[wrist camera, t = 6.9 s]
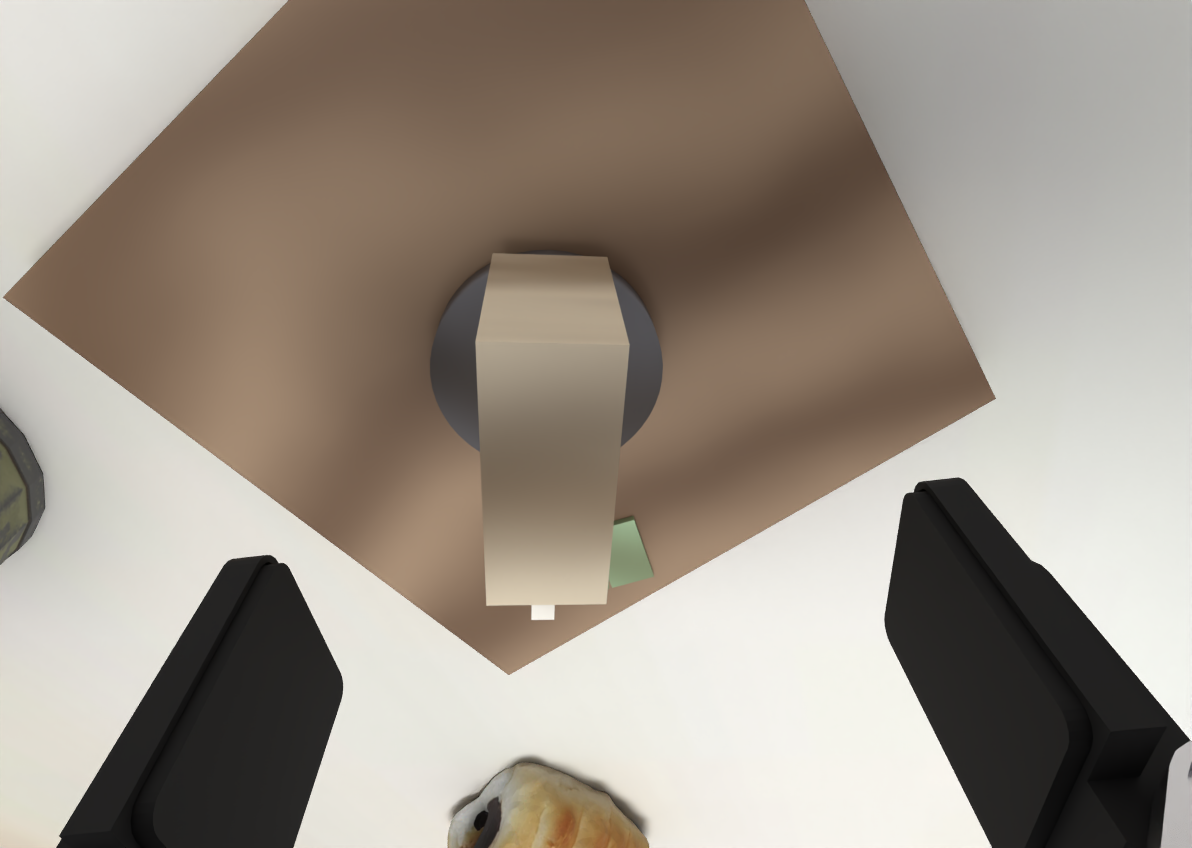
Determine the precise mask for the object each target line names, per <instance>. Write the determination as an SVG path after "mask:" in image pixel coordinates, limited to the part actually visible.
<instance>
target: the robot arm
mask: <svg viewBox="0 0 1192 848" xmlns="http://www.w3.org/2000/svg"><path fill="white" fill-rule="evenodd" d="M884 621H885V629H886V633H887V636H888V639H889V642H890V644H891V646H892V648H893V650H894V652H895V654H896V656H897V658H898V660H899V662H900V664H901V666H902V668H903V670H904V672H905V674H906V676H907V678H908V680H909V682H910V684H911V686H912V688H913V690H914V692H915V694H916V696H917V698H918V700H919V702H920V704H921V706H922V708H923V710H924V712H925V714H926V716H927V718H928V720H929V722H930V724H931V726H932V728H933V730H934V732H935V734H936V736H937V738H938V740H939V742H940V744H941V746H942V748H943V750H944V752H945V754H946V756H947V758H948V760H949V762H950V764H951V766H952V768H953V770H954V772H955V774H956V776H957V778H958V780H959V782H960V784H961V786H962V788H963V790H964V792H965V794H966V796H967V798H968V800H969V802H970V804H971V806H972V808H973V810H974V812H975V814H976V816H977V818H978V820H979V822H980V824H981V826H982V828H983V830H984V832H985V834H986V836H987V838H988V840H989V842H990V844H991V846H992V848H1192V741H1191V740H1190V739H1189V738H1188V737H1187V736H1186V735H1185V733H1184V732H1183V731H1182V730H1181V729H1180V727H1179V726H1178V725H1177V724H1176V723H1175V721H1174V720H1173V719H1172V718H1171V717H1170V715H1169V714H1168V713H1167V712H1166V711H1165V709H1164V708H1163V707H1162V706H1161V705H1160V703H1159V702H1158V701H1157V700H1156V699H1155V698H1154V696H1153V695H1152V694H1151V693H1150V692H1149V690H1148V689H1147V688H1146V687H1145V686H1144V684H1143V683H1142V682H1141V681H1140V680H1139V678H1138V677H1137V676H1136V675H1135V674H1134V672H1133V671H1132V670H1131V669H1130V668H1129V667H1128V665H1127V664H1126V663H1125V662H1124V661H1123V659H1122V658H1121V657H1120V656H1119V655H1118V653H1117V652H1116V651H1115V650H1114V649H1113V647H1112V646H1111V645H1110V644H1109V643H1108V641H1107V640H1106V639H1105V638H1104V637H1103V635H1102V634H1101V633H1100V632H1099V631H1098V630H1097V628H1096V627H1095V626H1094V625H1093V624H1092V622H1091V621H1090V620H1089V619H1088V618H1087V616H1086V615H1085V614H1084V613H1083V612H1082V610H1081V609H1080V608H1079V607H1078V606H1077V604H1076V603H1075V602H1074V601H1073V600H1072V599H1071V597H1070V596H1069V595H1068V594H1067V593H1066V591H1065V590H1064V589H1063V588H1062V587H1061V585H1060V584H1059V583H1058V582H1057V581H1056V579H1055V578H1054V577H1053V576H1052V575H1051V574H1050V573H1049V572H1048V571H1047V570H1046V569H1045V568H1044V567H1043V566H1042V565H1040V564H1038V563H1036V562H1034V561H1031V560H1030V558H1029V557H1028V556H1027V555H1026V554H1025V552H1024V551H1023V550H1022V549H1021V547H1020V546H1019V545H1018V544H1017V543H1016V541H1015V540H1014V539H1013V538H1012V537H1011V535H1010V534H1009V533H1008V532H1007V530H1006V529H1005V528H1004V527H1003V526H1002V524H1001V523H1000V522H999V521H998V520H997V518H996V517H995V516H994V515H993V513H992V512H991V511H990V510H989V509H988V507H987V506H986V505H985V504H984V503H983V501H982V500H981V499H980V498H979V496H978V495H977V494H976V493H975V492H974V490H973V489H972V488H971V487H970V486H969V484H968V483H967V482H966V481H965V480H963V479H961V478H950V479H941V480H932V481H923V482H919V483H918V484H917V485H916V487H915V490H914V492H913V493H907V494H906V495H905V496H904V499H903V504H902V510H901V517H900V523H899V529H898V535H897V542H896V548H895V554H894V560H893V567H892V573H891V579H890V585H889V592H888V598H887V604H886V611H885V619H884ZM342 694H343V680H342V676H341V673H340V671H339V669H338V667H337V665H336V663H335V661H334V659H333V657H332V655H331V652H330V650H329V648H328V646H327V644H326V642H325V640H324V638H323V636H322V634H321V632H320V630H319V628H318V626H317V624H316V622H315V620H314V618H313V616H312V614H311V612H310V610H309V608H308V606H307V603H306V601H305V599H304V597H303V595H302V593H301V591H300V589H299V587H298V585H297V583H296V581H295V579H294V577H293V575H292V573H291V571H290V569H289V567H288V566H287V565H286V564H284V563H278V561H277V560H276V559H275V558H274V557H273V556H271V555H263V556H254V557H246V558H237V559H231V560H229V561H228V562H227V563H226V564H225V565H224V566H223V568H222V569H221V571H220V573H219V574H218V576H217V578H216V579H215V581H214V583H213V584H212V586H211V587H210V589H209V591H208V592H207V594H206V596H205V597H204V599H203V601H202V602H201V604H200V606H199V607H198V609H197V610H196V612H195V614H194V615H193V617H192V619H191V620H190V622H189V624H188V625H187V627H186V629H185V630H184V632H183V633H182V635H181V637H180V638H179V640H178V642H177V643H176V645H175V647H174V648H173V650H172V651H171V653H170V655H169V656H168V658H167V660H166V661H165V663H164V665H163V666H162V668H161V670H160V671H159V673H158V674H157V676H156V678H155V679H154V681H153V683H152V684H151V686H150V688H149V689H148V691H147V693H146V694H145V696H144V697H143V699H142V701H141V702H140V704H139V706H138V707H137V709H136V711H135V712H134V714H133V716H132V717H131V719H130V720H129V722H128V724H127V725H126V727H125V729H124V730H123V732H122V734H121V735H120V737H119V738H118V740H117V742H116V743H115V745H114V747H113V748H112V750H111V752H110V753H109V755H108V757H107V758H106V760H105V761H104V763H103V765H102V766H101V768H100V770H99V771H98V773H97V775H96V776H95V778H94V780H93V781H92V783H91V784H90V786H89V788H88V789H87V791H86V793H85V794H84V796H83V798H82V799H81V801H80V803H79V804H78V806H77V807H76V809H75V811H74V812H73V814H72V816H71V817H70V819H69V821H68V822H67V824H66V825H65V827H64V829H63V830H62V832H61V834H60V835H59V836H60V837H61V838H62V839H61V841H60V842H59V844H58V846H57V847H56V848H293V847H294V844H295V841H296V838H297V835H298V832H299V828H300V825H301V822H302V819H303V816H304V813H305V810H306V807H307V804H308V801H309V798H310V795H311V792H312V788H313V785H314V782H315V779H316V776H317V773H318V770H319V767H320V764H321V761H322V758H323V755H324V752H325V748H326V745H327V742H328V739H329V736H330V733H331V730H332V727H333V724H334V721H335V718H336V715H337V711H338V708H339V705H340V702H341V699H342Z"/></svg>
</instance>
